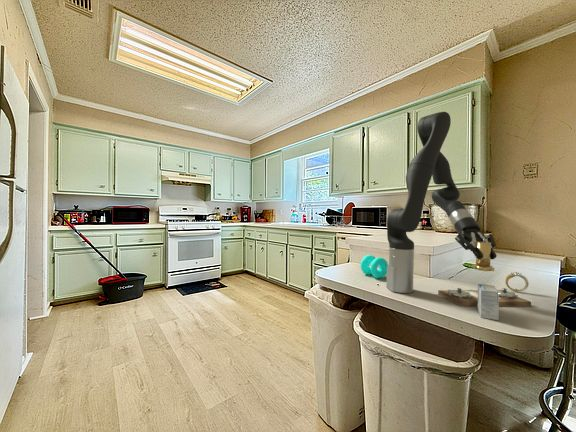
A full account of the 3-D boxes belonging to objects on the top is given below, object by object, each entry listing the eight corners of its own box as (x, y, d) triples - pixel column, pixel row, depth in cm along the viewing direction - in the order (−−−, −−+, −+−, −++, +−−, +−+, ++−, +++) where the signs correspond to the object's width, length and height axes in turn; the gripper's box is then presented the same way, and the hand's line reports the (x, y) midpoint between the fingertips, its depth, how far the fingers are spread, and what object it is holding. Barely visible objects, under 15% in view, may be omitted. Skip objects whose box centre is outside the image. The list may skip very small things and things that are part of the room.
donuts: (374, 273, 129) (374, 253, 129) (389, 277, 120) (389, 257, 120) (359, 274, 125) (359, 255, 125) (373, 280, 116) (373, 258, 116)
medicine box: (498, 321, 74) (499, 292, 74) (479, 317, 76) (480, 289, 76) (494, 312, 81) (495, 285, 80) (477, 309, 83) (477, 283, 83)
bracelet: (505, 291, 102) (506, 271, 102) (504, 289, 105) (505, 270, 104) (529, 294, 98) (529, 274, 98) (527, 292, 101) (527, 272, 101)
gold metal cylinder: (480, 271, 88) (481, 243, 88) (467, 267, 94) (468, 240, 94) (498, 271, 88) (499, 243, 88) (484, 267, 95) (485, 240, 94)
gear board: (460, 306, 85) (460, 300, 85) (438, 294, 97) (438, 289, 97) (530, 305, 86) (531, 300, 86) (500, 294, 98) (500, 289, 98)
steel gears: (456, 298, 88) (456, 291, 88) (443, 292, 95) (443, 285, 95) (522, 298, 89) (522, 291, 89) (505, 292, 95) (505, 285, 95)
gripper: (451, 216, 98) (474, 252, 86) (486, 216, 99) (514, 252, 87) (442, 228, 104) (462, 264, 92) (475, 228, 104) (500, 263, 92)
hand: (487, 258), depth 89 cm, fingers closed on gold metal cylinder, 4 cm apart
